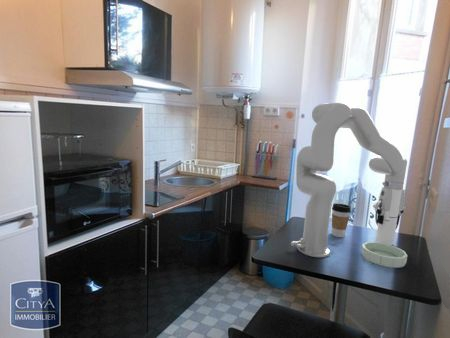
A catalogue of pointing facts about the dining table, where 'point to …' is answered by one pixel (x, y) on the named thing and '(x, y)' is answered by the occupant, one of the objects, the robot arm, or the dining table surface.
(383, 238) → the cylindrical container
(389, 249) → the dish
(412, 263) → the dining table surface
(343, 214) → the coffee cup
